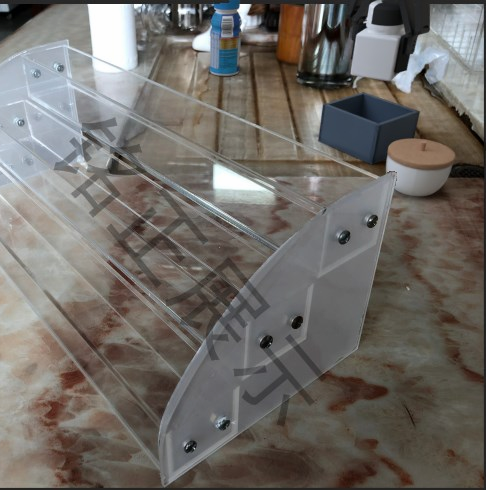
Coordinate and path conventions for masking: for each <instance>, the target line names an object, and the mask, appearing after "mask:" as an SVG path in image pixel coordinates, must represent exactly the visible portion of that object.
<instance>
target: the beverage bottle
mask: <svg viewBox="0 0 486 490" xmlns="http://www.w3.org/2000/svg"><path fill="white" fill-rule="evenodd" d="M229 1H230V2H229V3H220V4H214V3H213V8H214V10H215V11H214V13H213V15H212V17H211V19H210V26H211V28H210V31H209V37H210V38H209V39H210V40H209V41H210V42H209V43H210V44H209V45H210V46H209V47H210V49H209V72H210V74H212V75H213V76H218V77H233V76H235V75H237V74H239V72H240V67H241V66H240V60H241V43H242V35H243V31H242V30H243V29H241V26H242V25H243V21H242V17H241V15H240V13H239V11H238V10H240V7H241V0H229Z"/></svg>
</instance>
